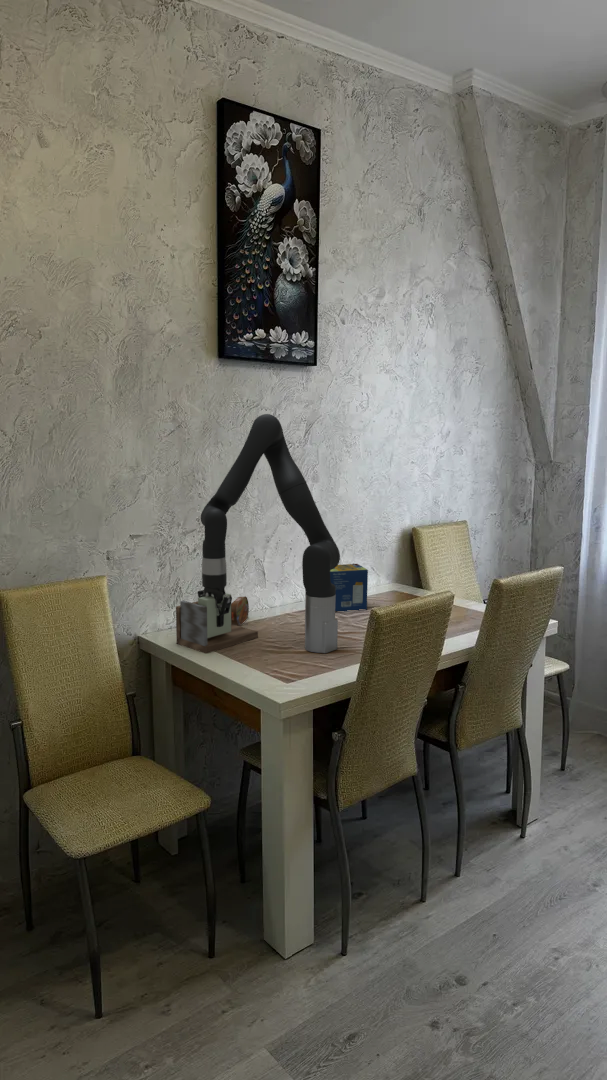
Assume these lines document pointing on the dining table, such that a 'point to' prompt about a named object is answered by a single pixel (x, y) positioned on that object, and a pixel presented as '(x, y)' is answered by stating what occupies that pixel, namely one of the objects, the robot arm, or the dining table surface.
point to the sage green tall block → (215, 617)
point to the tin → (239, 610)
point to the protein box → (350, 586)
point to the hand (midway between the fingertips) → (214, 624)
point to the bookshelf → (205, 630)
